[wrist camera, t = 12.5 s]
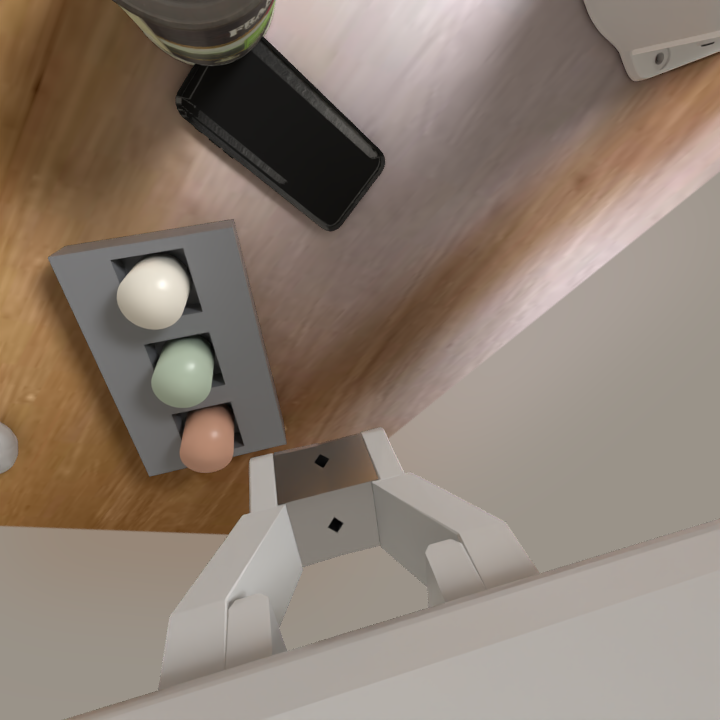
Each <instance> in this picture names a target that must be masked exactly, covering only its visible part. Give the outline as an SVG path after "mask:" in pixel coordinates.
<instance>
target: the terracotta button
mask: <svg viewBox="0 0 720 720" xmlns="http://www.w3.org/2000/svg"><path fill="white" fill-rule="evenodd" d="M234 423H235V417H234V414H233V411H232V410H231V409H230V408H229V407H228V406H227V405H226V404H224V403H222V404H218V405H213V406H209V407H204V408H200V409H195V410H191V411H189V412H188V414H187V417H186V422H185V427H184V432H183V437H182V442H181V447H180V458H181V460H182V462H183V463H184V465H185V466H187V467H188V468H189V469H191V470H193V471H196V472H201V473H210V472H215V471H218V470H221V469H222V468H224V467H225V466H227V465H228V464H229V463H230V461H231V460H232V457H233V453H234Z"/></svg>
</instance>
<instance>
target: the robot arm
mask: <svg viewBox="0 0 720 720" xmlns="http://www.w3.org/2000/svg"><path fill="white" fill-rule="evenodd" d="M584 3H585V6H586V9H587V11H588V14H589V16H590V18H591V20H592V22H593V23H594V25H595V26H596V28H597V29H598V30H599V32H600V33H601V34H602V35H603V36H604V37H605V38H606V39H607V40H608V41H609V42H611V43H612V44H613V45H614V46H615V47H616V49H617V50H618V51H619V53H620V56H621V59H622V62H623V64H624V67H625V70H626V72H627V74H628V76H629V77H630V78H631V79H632V80H633V81H641V80H645V79H648V78H651V77H654V76H656V75H659V74H662V73H664V72H667V71H669V70H672V69H675V68H677V67H680V66H683V65H685V64H688V63H690V62H693V61H696V60H698V59H701V58H704V57H706V56H709V55H711V54H714V53H717V52H719V51H720V0H584ZM656 56H657V61H656V63H655V58H656ZM249 505H250V513H249V514H245V515H242V517H241V518H240V519H239V521H238V522H237V524H236V525H235V526H234V528H233V529H232V531H231V532H230V533H229V535H228V536H227V538H226V539H225V540H224V542H223V543H222V545H221V546H220V547H219V549H218V550H217V552H216V553H215V554H214V556H213V557H212V558H211V560H210V561H209V563H208V564H207V565H206V567H205V568H204V569H203V571H202V572H201V574H200V575H199V577H198V578H197V579H196V581H195V582H194V583H193V585H192V586H191V587H190V589H189V590H188V592H187V593H186V594H185V596H184V597H183V599H182V600H181V602H180V603H179V604H178V606H177V607H176V608H175V610H174V611H173V613H172V614H171V615H170V618H169V625H168V631H167V637H166V643H165V651H164V656H163V662H162V669H161V675H160V682H159V688H158V691H155V692H152V693H148V694H145V695H142V696H139V697H135V698H132V699H129V700H126V701H122V702H119V703H116V704H113V705H109V706H106V707H103V708H99V709H96V710H93V711H90V712H87V713H84V714H80V715H77V716H73V717H70V718H67V719H64V720H720V518H719V519H716V520H713V521H710V522H706V523H703V524H700V525H696V526H693V527H690V528H686V529H684V530H680V531H677V532H673V533H670V534H667V535H664V536H660V537H657V538H654V539H651V540H647V541H644V542H641V543H638V544H634V545H631V546H628V547H624V548H621V549H618V550H615V551H611V552H608V553H605V554H602V555H598V556H595V557H592V558H589V559H585V560H582V561H579V562H576V563H572V564H569V565H566V566H562V567H559V568H556V569H553V570H549V571H546V572H543V573H539V571H538V570H537V568H536V567H535V565H534V564H533V562H532V561H531V559H530V558H529V556H528V555H527V554H526V552H525V550H524V549H523V547H522V546H521V544H520V543H519V541H518V540H517V539H516V537H515V535H514V534H513V532H512V531H511V529H510V528H509V526H508V525H507V523H506V522H505V521H503V520H501V519H499V518H497V517H495V516H494V515H492V514H490V513H488V512H486V511H484V510H482V509H480V508H478V507H476V506H475V505H473V504H471V503H469V502H467V501H465V500H463V499H462V498H460V497H458V496H456V495H454V494H452V493H450V492H448V491H446V490H445V489H443V488H441V487H438V486H437V485H435V484H433V483H431V482H429V481H427V480H426V479H424V478H422V477H420V476H418V475H416V474H414V473H412V472H408V473H404V471H403V469H402V467H401V464H400V462H399V460H398V458H397V456H396V454H395V452H394V450H393V448H392V445H391V443H390V441H389V439H388V437H387V435H386V433H385V431H384V429H383V428H382V427H379V428H375V429H371V430H367V431H364V432H360V433H359V434H355V435H350V436H346V437H342V438H338V439H334V440H330V441H326V442H322V443H317V444H312V445H307V446H303V447H298V448H293V449H289V450H284V451H280V452H275V453H274V454H272V453H271V454H267V455H263V456H258V457H254V458H251V459H250V461H249ZM380 545H381V548H383V549H384V550H385V551H386V552H387V553H388V554H390V555H391V556H392V557H393V558H394V559H395V560H396V561H398V562H399V563H400V564H401V565H402V566H403V567H405V568H406V569H407V570H408V571H409V572H410V573H411V574H413V575H414V576H415V577H416V578H417V579H418V580H419V581H421V582H422V583H423V584H424V585H425V586H426V587H427V591H428V608H426V609H422V610H419V611H416V612H413V613H409V614H406V615H403V616H400V617H396V618H393V619H390V620H387V621H383V622H380V623H377V624H373V625H370V626H367V627H364V628H360V629H357V630H354V631H351V632H347V633H344V634H341V635H338V636H334V637H331V638H328V639H324V640H321V641H318V642H315V643H311V644H308V645H305V646H302V647H298V648H295V649H292V650H289V651H287V649H286V646H285V644H284V641H283V638H282V635H281V632H280V629H279V627H280V625H281V622H282V620H283V617H284V615H285V613H286V610H287V608H288V605H289V603H290V600H291V598H292V596H293V593H294V590H295V588H296V586H297V583H298V581H299V578H300V576H301V573H302V571H303V568H302V567H305V566H308V565H311V564H314V563H318V562H321V561H324V560H328V559H331V558H334V557H337V556H340V555H344V554H348V553H352V552H356V551H360V550H364V549H368V548H372V547H376V546H380ZM341 553H342V554H341Z"/></svg>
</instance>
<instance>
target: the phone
mask: <svg viewBox="0 0 720 720" xmlns="http://www.w3.org/2000/svg"><path fill="white" fill-rule="evenodd" d="M176 106H177V110H178V111H179V113H180V115H181V116H182V117H183V118H184V119H186V120H187V121H188V122H189V123H191V124H192V125H193V126H194V127H195V128H196V129H197V130H198V131H199V132H201V133H203V134H204V135H206V136H207V137H208V138H209V140H210V141H212V142H213V143H214V144H215V145H217V146H218V147H219V148H220V147H221V148H222V149H223V151H224V152H225V153H226V154H228V155H229V156H230V157H231V158H235V159H236V160H237V161H238V162H240V163H241V164H242V165H243V166H245V167H246V168H247V169H248V170H250V171H251V172H252V173H253V174H255V175H256V176H257V177H259V178H260V179H261V180H262V181H264V182H265V183H266V184H267V185H269V186H270V187H271V188H272V189H274V190H275V191H276V192H277V193H279V194H280V195H281V196H282V197H284V198H285V199H286V200H287V201H289V202H290V203H291V204H292V205H294V206H295V207H296V208H298V209H299V210H300V211H301V212H303V213H304V214H305V215H306V216H308V217H309V218H310V219H311V220H313V221H314V222H315V223H316V224H318V225H319V226H320V227H321V228H323V229H325V230H327V231H334V230H336V229H338V228H339V227H340V226H341V225H342V224H343V223H344V221H345V220H346V219H347V217H348V216H349V215H350V213H351V212H352V211H353V209H354V208H355V207H356V205H357V204H358V203H359V201H360V200H361V199H362V197H363V196H364V195H365V193H366V192H367V191H368V190H369V188H370V187H371V186H372V184H373V183H374V182H375V180H376V179H377V178H378V176H379V175H380V174H381V172H382V171H383V169H384V165H385V158H384V155H383V153H382V152H381V150H380V149H379V148H378V147H377V146H376V145H375V144H374V143H373V142H371V141H370V140H369V139H368V138H367V137H366V136H365V135H364V134H363V133H362V132H361V131H360V130H359V129H358V128H357V127H356V126H355V125H354V124H353V123H352V122H351V121H350V120H349V119H348V118H347V117H346V116H345V115H344V114H343V113H342V112H341V111H339V110H338V109H337V108H336V107H335V106H334V105H333V104H332V103H331V102H330V101H329V100H328V99H327V98H326V97H325V96H324V95H323V94H322V93H321V92H320V91H319V90H318V89H317V88H316V87H315V86H314V85H313V84H312V83H311V82H310V81H309V80H308V79H306V78H305V77H304V76H303V75H302V74H301V73H300V72H299V71H298V70H297V69H296V68H295V67H294V66H293V65H292V64H291V63H290V62H289V61H288V60H287V59H286V58H285V57H284V56H283V55H282V54H281V53H280V52H279V51H278V50H277V49H276V48H275V47H273V46H272V45H271V44H270V43H269V42H268V41H267V40H266V39H265V38H264V37H263V36H262V38H261V39H260V40H259V42H258V43H257V44H256V45H255V46H254V47H253V48H252V49H251V50H250V51H249V52H248V53H247V54H246V55H244V56H242V57H241V58H239V59H237V60H235V61H233V62H231V63H228V64H223V65H212V66H208V65H200V64H194V66H193V68H192V69H191V71H190V73H189V74H188V76H187V77H186V79H185V81H184V82H183V84H182V86H181V87H180V89H179V91H178V93H177V95H176Z"/></svg>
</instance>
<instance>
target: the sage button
mask: <svg viewBox="0 0 720 720" xmlns="http://www.w3.org/2000/svg"><path fill="white" fill-rule="evenodd" d="M214 362H215V353H214V349H213V347H212V346H211V344H210V343H209V342H208V341H207V340H206V339H205V338H203V337H201V336H199V335H191V336H186V337H181V338H176V339H170V340H168V341H167V342H166V343H165V345H164V346H163V349H162V352H161V354H160V357H159V360H158V362H157V365H156V368H155V370H154V373H153V376H152V380H151V385H152V389H153V392H154V394H155V395H156V396H157V398H158V399H159V400H161V401H162V402H163V403H165V404H167V405H169V406H172V407H177V408H188V407H193V406H196V405H198V404H200V403H201V402H203V401H204V400H205V399H206V398H207V396H208V395H209V393H210V391H211V385H212V377H213V370H214Z"/></svg>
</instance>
